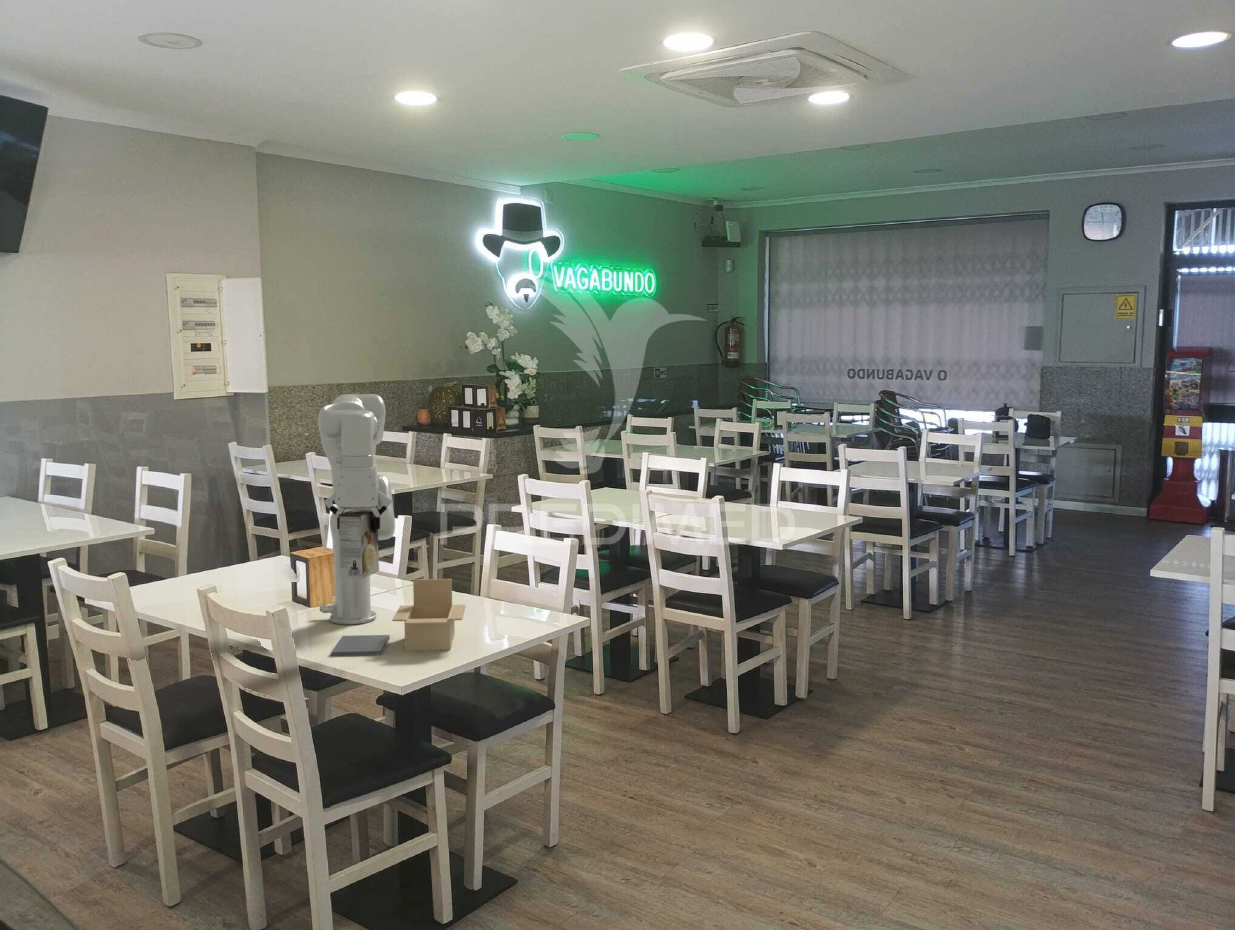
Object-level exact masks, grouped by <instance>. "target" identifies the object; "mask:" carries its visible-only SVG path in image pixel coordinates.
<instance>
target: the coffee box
mask: <svg viewBox="0 0 1235 930" xmlns="http://www.w3.org/2000/svg"><path fill="white" fill-rule="evenodd" d="M338 517H339V551H340V577H341V578H354V579H364V578H366V577H368V576H370V577H371V575H374V574H375V573H377V572H379V571H380V558H379V557H380V556H379V554H380V553H379V540H378V532H377V533H373V517H374V513H373V512H372V510H368V509H354V510H351V511H348V512H345V513H342V514H339V515H338Z"/></svg>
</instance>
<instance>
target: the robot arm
mask: <svg viewBox="0 0 1235 930" xmlns="http://www.w3.org/2000/svg"><path fill="white" fill-rule="evenodd" d="M385 405H386V404H385V402H384V400H383V398H382V397H381V396H380V395H378V394H375V393H348V394H346V393H345V394H341V395H339V396H337V397H336V398H335V399H334V400H333V401H332V403H331V404H327V405H325V406H322V408H321V409H320V410H319V413H318V418H317V423H318V424H317V425H318V430H319V435H320V442H321V446H322V448H323V452H324V454H325V456H326V458H327V460H328V463H329V464H330V469H331V481H332V483H331V484H332V493H333V494H331V495H330V496H329V497H327V498H326V499H325V500H324V501H323V503H324V504H325V505H326V507H327V508H328V509H329V511H330V512H331V515H330V518H329V527H330V534H331V539H332V546H333V566H334V568H333V569H334V570H333V572H334V600H335V601H334V603H331V604H328V605H327V604H320V605H319V612H320V613H321V612H322V614H327V613H328V614H331V615H329V621H330V622H331V623H333V624H338V625H358V624H359V625H360V624H364V623H365V624H366V623H369V622H371V621H374V620H375V619H377V613H376V612H375V611H374V610H371V609H372V608H371V607H372V606H371V575H370V576H368V577H366V578H364V579H354V578H341V577H340V551H339V517H338V515H339V514H342V513H345V512H348V511H351V510H354V509H368V510H372V512H373V513H374V517H373V533H377V532H378V541H384V540H385V541H386V540H389V539H391V538H392V537H393V536H394V535H395V531H396V519H395V511H394V501H393V494H392V487H391V483H390V481H389V480H390V479H388V477H386V476H385V475H383V474H378V471H377V468H376V466H374V451H373V449H374V446H376V445H379V444H380V443H381V442H382V441H383V437H384V433H385V432H384V431H385V424H386V423H385V422H386V406H385ZM333 501H334V503H335V504H336V506H337V507H336V506H335V505H334V503H333Z"/></svg>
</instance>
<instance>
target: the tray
mask: <svg viewBox="0 0 1235 930" xmlns="http://www.w3.org/2000/svg"><path fill="white" fill-rule="evenodd" d="M390 635H391V634H371V635H364V634H363V635H362V634H361V635H342V636H341V638H340V639H339V640H338V642H337V643H336V645H335V646H334V647H333V649H332V650H331V657H339V656H341V657H342V656H343V657H344V656H347V657H348V656H381V655H382V654H383V653H384V651H385V648H386V647H387V645H388V643H389V641H390V637H391V636H390Z"/></svg>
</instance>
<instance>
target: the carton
mask: <svg viewBox="0 0 1235 930" xmlns="http://www.w3.org/2000/svg"><path fill="white" fill-rule="evenodd" d="M412 585H413V587H412V588H413V589H412V590H413V591H412V592H413V604H409V605H399V606H398V609H397V610H396V613H395V614H394V615H393V617H392V622H404V651H405V652H413V651H414V652H415V651H416V652H418V651H451V648H452V645H453V642H454V638H455V634H456V633H455V632H456V630H455V629H456V627H455V625H456V623H455V622H456V621H462V620H463V618H464V613H465V611H466V607H467V604H453V578H426V579H425V578H419V579H417V578H416V579H414V578H413V584H412Z"/></svg>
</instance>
